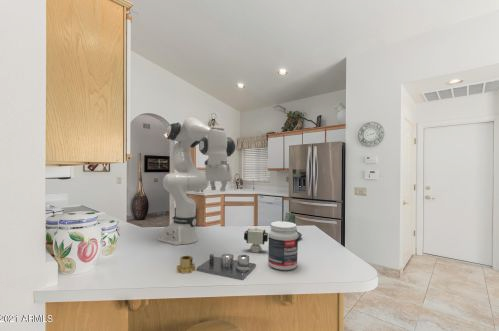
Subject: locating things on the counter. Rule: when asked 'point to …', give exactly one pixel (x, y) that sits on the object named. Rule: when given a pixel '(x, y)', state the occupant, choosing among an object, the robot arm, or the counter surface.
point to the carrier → (228, 266)
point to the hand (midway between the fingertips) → (217, 190)
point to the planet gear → (186, 264)
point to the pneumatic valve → (255, 238)
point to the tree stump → (291, 219)
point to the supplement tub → (283, 245)
